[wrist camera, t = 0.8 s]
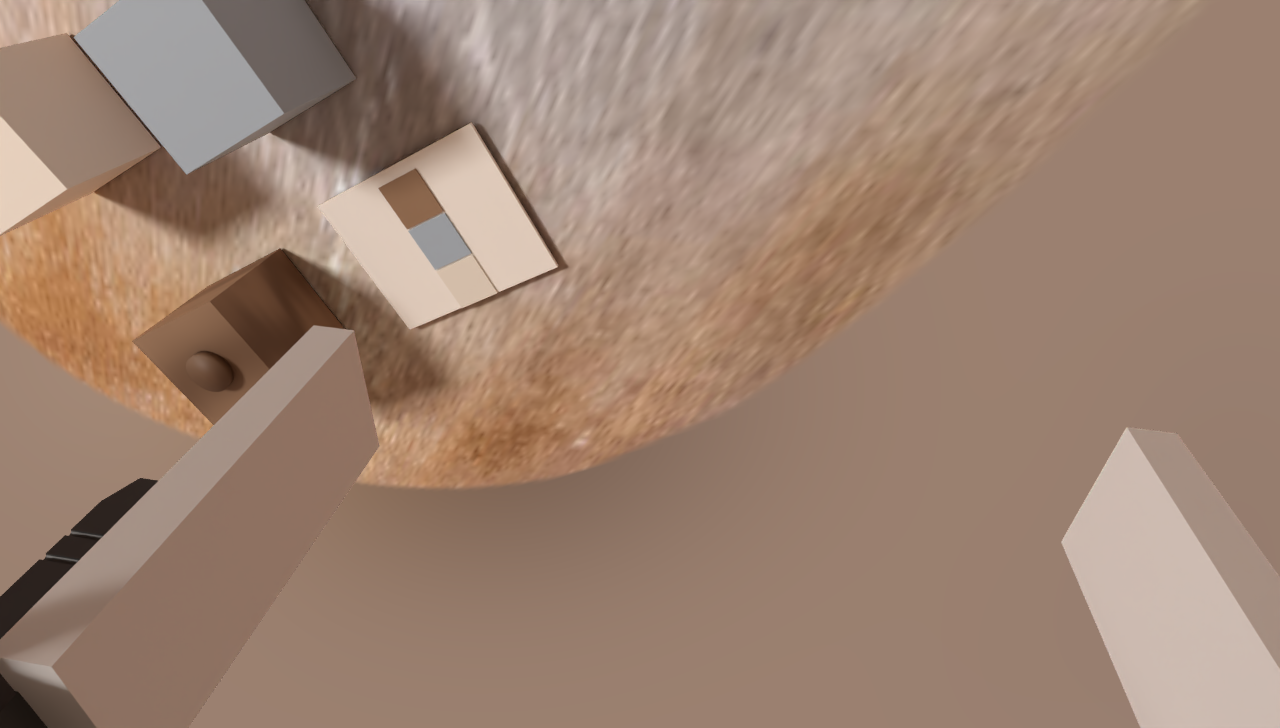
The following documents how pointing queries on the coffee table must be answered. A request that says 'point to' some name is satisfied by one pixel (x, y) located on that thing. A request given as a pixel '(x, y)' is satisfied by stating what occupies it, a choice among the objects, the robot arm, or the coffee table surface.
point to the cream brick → (59, 130)
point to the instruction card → (440, 229)
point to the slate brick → (214, 69)
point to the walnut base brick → (235, 332)
